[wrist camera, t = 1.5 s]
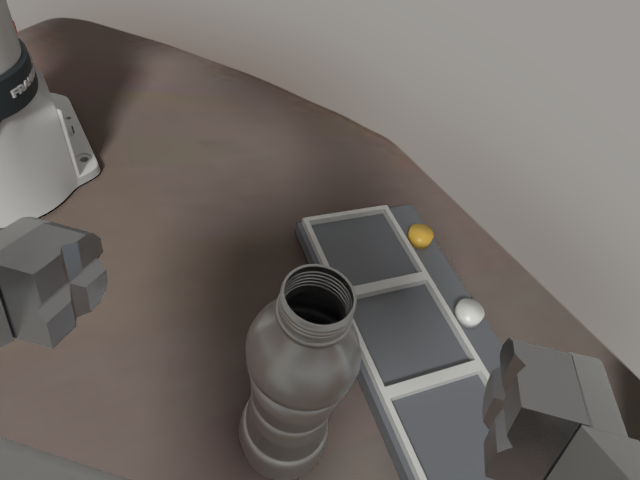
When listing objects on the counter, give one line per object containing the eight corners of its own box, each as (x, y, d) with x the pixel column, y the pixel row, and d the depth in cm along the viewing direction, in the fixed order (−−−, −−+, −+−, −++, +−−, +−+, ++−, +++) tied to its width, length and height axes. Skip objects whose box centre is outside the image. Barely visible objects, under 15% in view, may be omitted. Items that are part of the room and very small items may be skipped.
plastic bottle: (270, 509, 34) (309, 388, 19) (220, 430, 37) (221, 273, 22) (339, 454, 37) (416, 314, 23) (288, 385, 40) (327, 223, 26)
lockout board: (295, 231, 52) (298, 214, 50) (407, 213, 57) (414, 196, 55) (427, 541, 34) (439, 534, 32) (574, 477, 39) (593, 467, 37)
